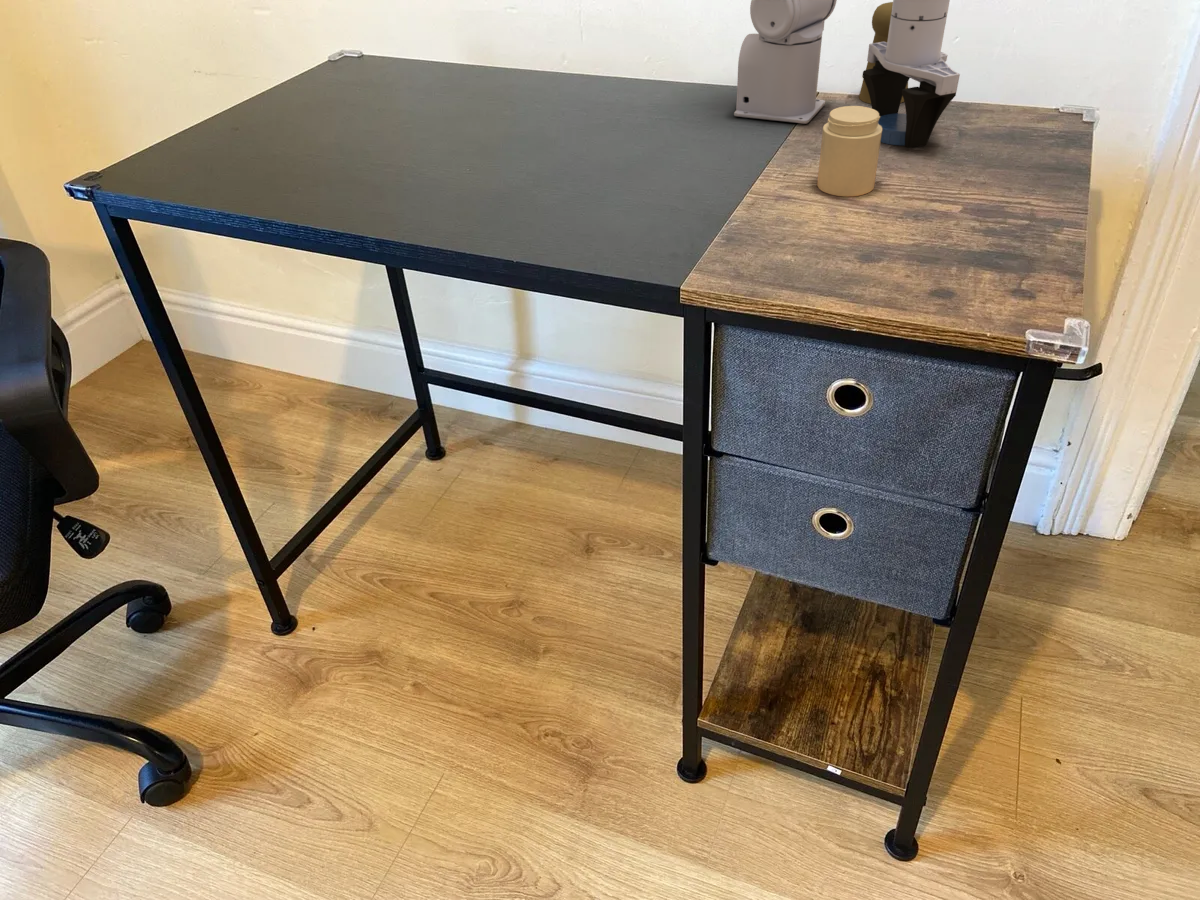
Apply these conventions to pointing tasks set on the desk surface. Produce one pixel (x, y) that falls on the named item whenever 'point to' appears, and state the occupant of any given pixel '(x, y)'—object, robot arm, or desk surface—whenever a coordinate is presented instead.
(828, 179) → the jar
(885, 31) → the olive cone figure
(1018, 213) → the desk surface
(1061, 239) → the desk surface
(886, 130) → the lid
